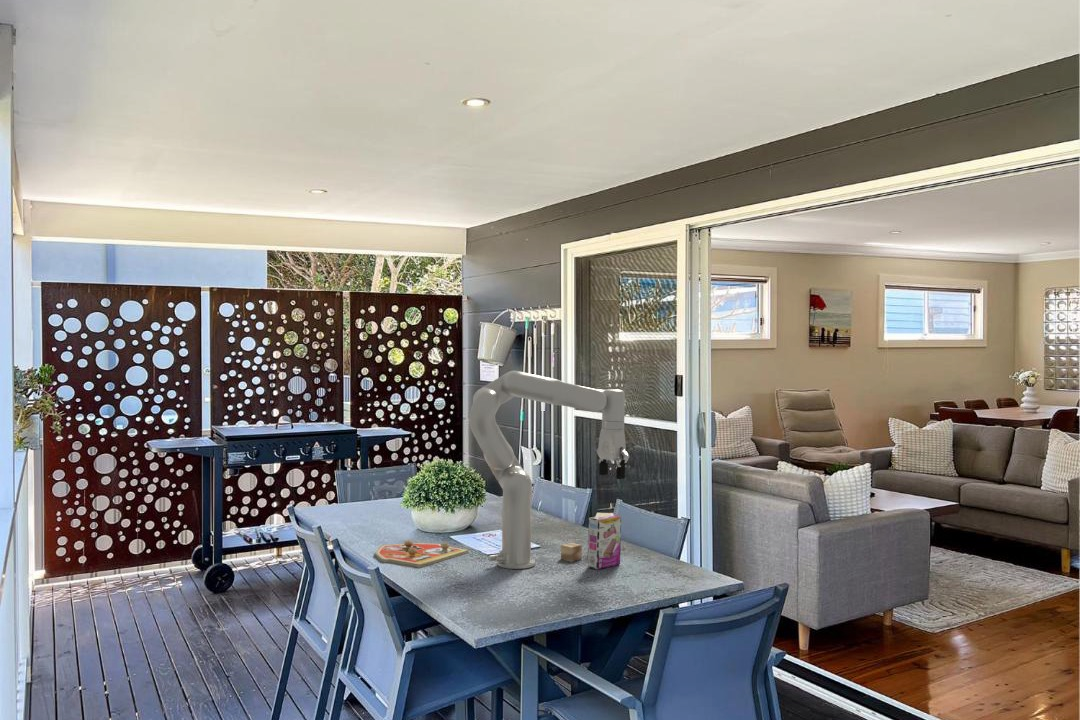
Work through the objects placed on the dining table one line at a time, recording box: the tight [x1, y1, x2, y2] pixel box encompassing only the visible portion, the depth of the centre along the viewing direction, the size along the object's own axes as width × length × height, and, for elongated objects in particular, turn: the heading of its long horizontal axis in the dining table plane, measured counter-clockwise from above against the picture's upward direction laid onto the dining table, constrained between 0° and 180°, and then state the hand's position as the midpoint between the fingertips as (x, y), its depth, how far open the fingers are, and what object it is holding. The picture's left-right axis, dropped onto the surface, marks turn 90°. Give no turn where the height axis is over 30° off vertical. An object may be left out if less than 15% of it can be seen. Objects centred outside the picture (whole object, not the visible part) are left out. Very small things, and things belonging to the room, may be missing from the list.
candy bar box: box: [587, 514, 622, 571], centre depth 283 cm, size 11×5×16 cm, turn 133°
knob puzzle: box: [374, 539, 469, 569], centre depth 299 cm, size 29×30×4 cm
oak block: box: [560, 542, 583, 562], centre depth 292 cm, size 5×5×5 cm
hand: (611, 476), depth 289 cm, fingers open, 9 cm apart
